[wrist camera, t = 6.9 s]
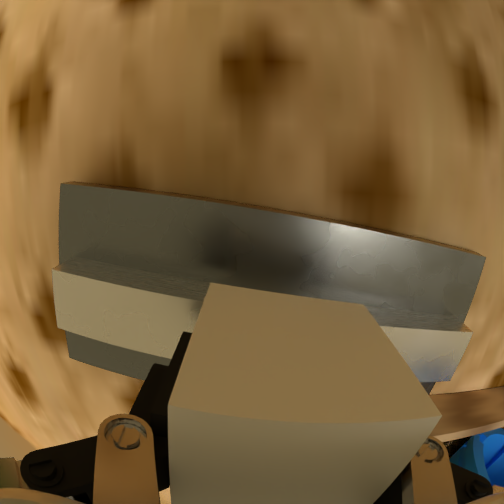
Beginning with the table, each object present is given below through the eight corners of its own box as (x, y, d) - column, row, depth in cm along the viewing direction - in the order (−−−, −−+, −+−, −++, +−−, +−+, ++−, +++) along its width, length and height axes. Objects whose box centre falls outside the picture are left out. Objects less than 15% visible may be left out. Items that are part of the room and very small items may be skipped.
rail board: (473, 251, 14) (508, 268, 11) (416, 393, 17) (434, 424, 14) (73, 181, 13) (35, 187, 10) (78, 347, 16) (53, 376, 13)
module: (363, 304, 10) (442, 415, 4) (313, 434, 11) (333, 540, 6) (209, 282, 9) (166, 404, 4) (195, 422, 11) (173, 533, 6)
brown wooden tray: (564, 372, 17) (581, 389, 13) (439, 522, 26) (445, 538, 22) (380, 397, 17) (400, 440, 13) (274, 549, 25) (275, 571, 21)
